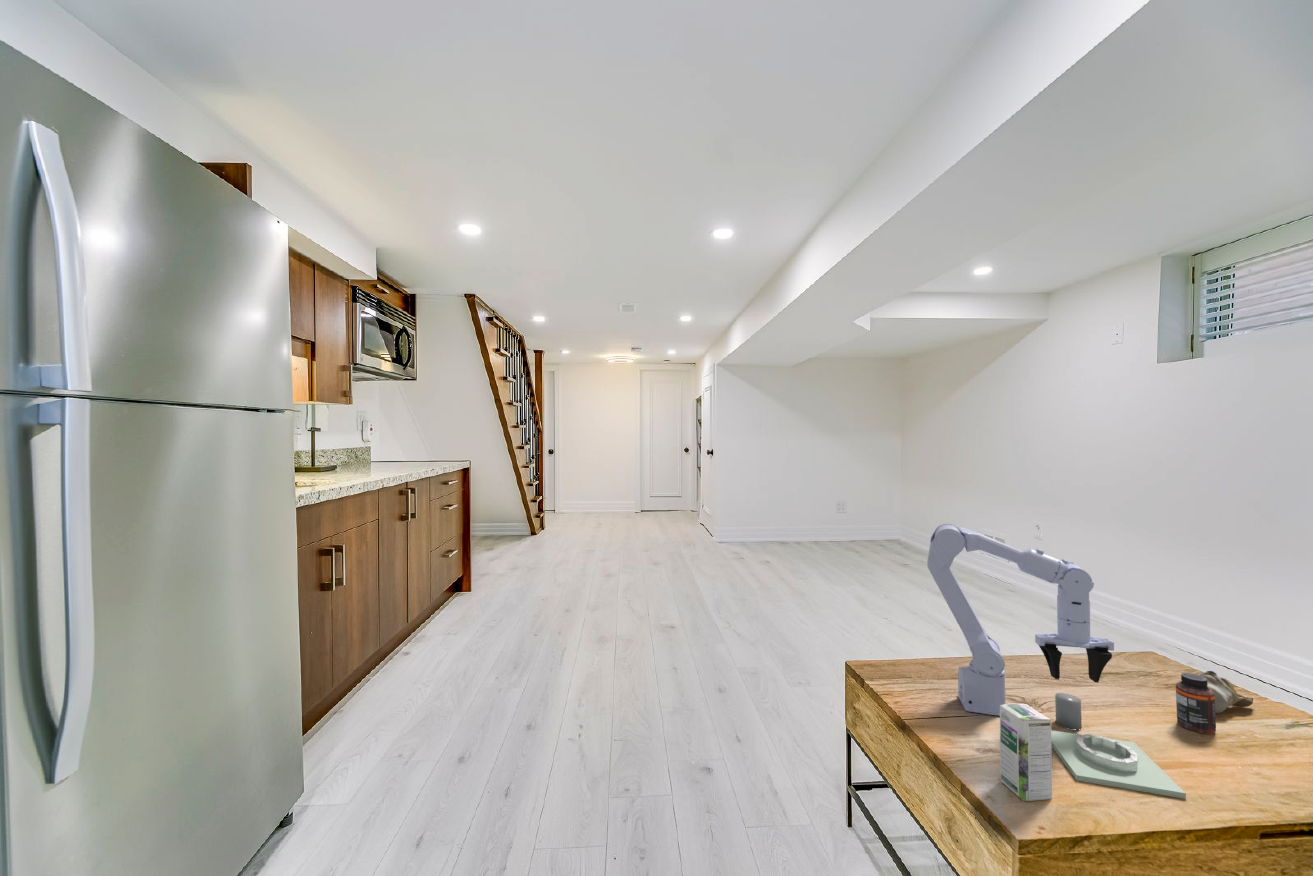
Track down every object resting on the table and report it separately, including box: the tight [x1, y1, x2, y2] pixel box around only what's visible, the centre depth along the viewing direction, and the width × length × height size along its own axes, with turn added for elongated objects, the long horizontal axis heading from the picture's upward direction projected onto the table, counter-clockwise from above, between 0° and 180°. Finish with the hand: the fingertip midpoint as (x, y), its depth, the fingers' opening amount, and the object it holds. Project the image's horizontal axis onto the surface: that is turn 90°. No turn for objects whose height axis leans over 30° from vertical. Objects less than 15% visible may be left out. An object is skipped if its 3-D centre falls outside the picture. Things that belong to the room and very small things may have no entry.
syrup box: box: [999, 702, 1053, 802], centre depth 92 cm, size 6×6×14 cm
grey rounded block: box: [1054, 692, 1083, 731], centre depth 113 cm, size 4×5×6 cm
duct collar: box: [1076, 733, 1139, 773], centre depth 99 cm, size 9×9×2 cm
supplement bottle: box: [1175, 672, 1217, 735], centre depth 111 cm, size 6×6×11 cm
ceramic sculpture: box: [1199, 670, 1254, 714], centre depth 120 cm, size 11×9×15 cm
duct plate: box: [1051, 729, 1187, 800], centre depth 99 cm, size 16×16×1 cm
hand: (1074, 679), depth 113 cm, fingers open, 7 cm apart
